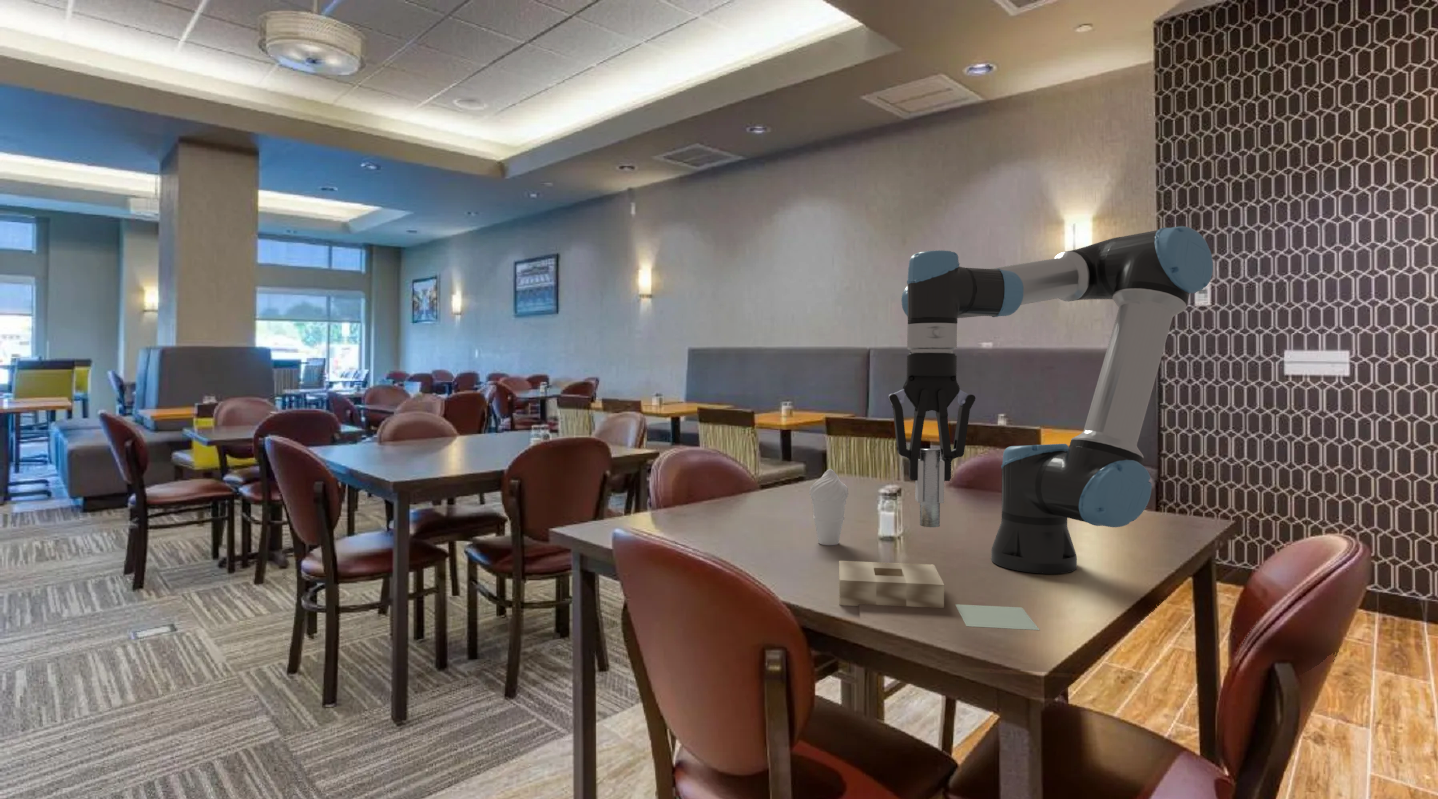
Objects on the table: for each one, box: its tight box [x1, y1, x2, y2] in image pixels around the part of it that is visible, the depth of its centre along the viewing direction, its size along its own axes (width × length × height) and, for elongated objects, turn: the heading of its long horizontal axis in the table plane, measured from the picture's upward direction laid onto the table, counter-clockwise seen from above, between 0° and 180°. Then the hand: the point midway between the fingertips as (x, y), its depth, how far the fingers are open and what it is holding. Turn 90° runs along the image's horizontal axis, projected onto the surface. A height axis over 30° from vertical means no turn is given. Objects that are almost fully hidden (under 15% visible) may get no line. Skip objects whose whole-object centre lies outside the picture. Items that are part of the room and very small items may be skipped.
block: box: [838, 560, 945, 609], centre depth 122 cm, size 16×12×4 cm
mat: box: [954, 603, 1040, 631], centre depth 111 cm, size 10×10×1 cm
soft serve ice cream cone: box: [808, 468, 849, 546], centre depth 159 cm, size 8×8×16 cm
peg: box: [919, 448, 941, 528], centre depth 116 cm, size 3×3×12 cm
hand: (929, 501), depth 117 cm, fingers closed on peg, 2 cm apart
